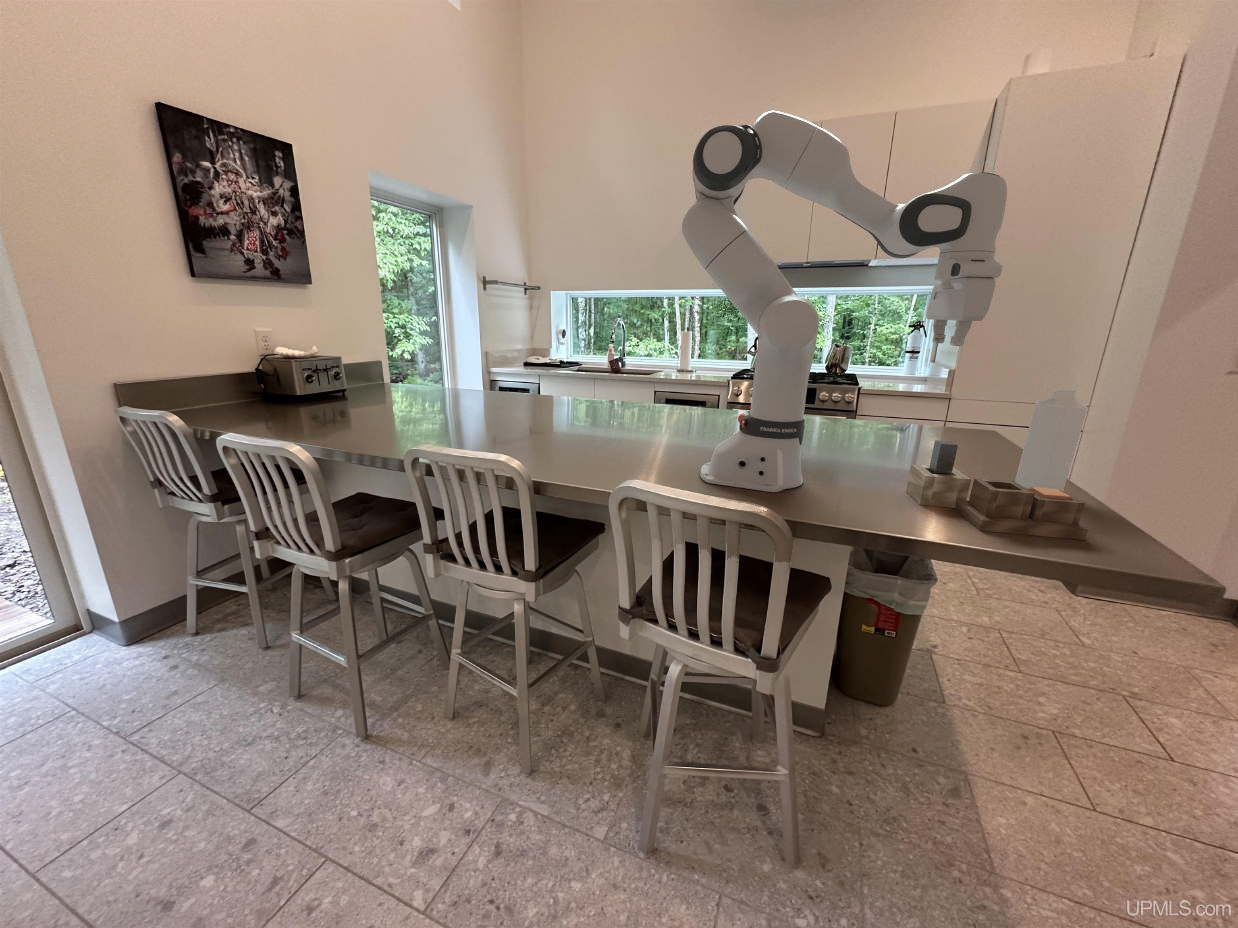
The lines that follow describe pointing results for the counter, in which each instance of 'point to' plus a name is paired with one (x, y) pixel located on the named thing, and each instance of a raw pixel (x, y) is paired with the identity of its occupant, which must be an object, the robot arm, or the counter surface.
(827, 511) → the counter surface
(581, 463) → the counter surface
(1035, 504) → the socket base
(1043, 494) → the button
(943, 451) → the steel peg
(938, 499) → the beige hollow block
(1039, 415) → the milk
